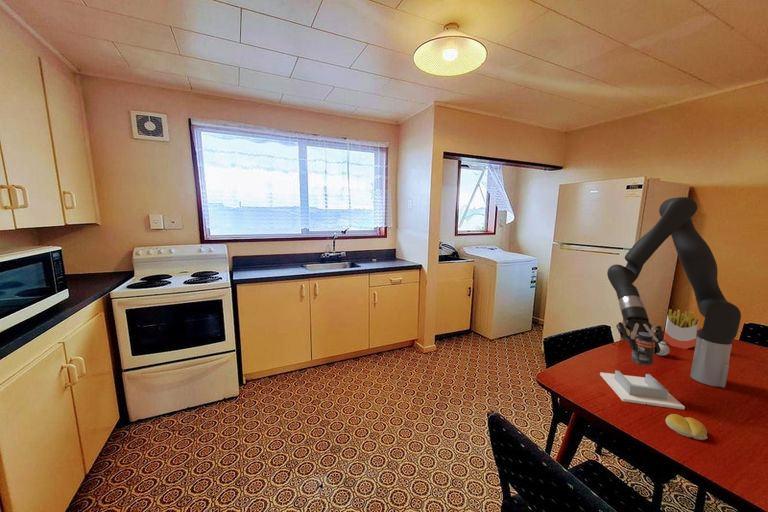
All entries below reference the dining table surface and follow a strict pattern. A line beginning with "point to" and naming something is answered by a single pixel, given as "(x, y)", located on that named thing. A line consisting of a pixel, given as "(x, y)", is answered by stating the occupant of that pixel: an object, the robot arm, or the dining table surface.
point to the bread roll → (687, 426)
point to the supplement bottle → (644, 349)
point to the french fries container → (681, 329)
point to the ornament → (663, 348)
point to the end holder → (641, 390)
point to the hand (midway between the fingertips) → (646, 351)
